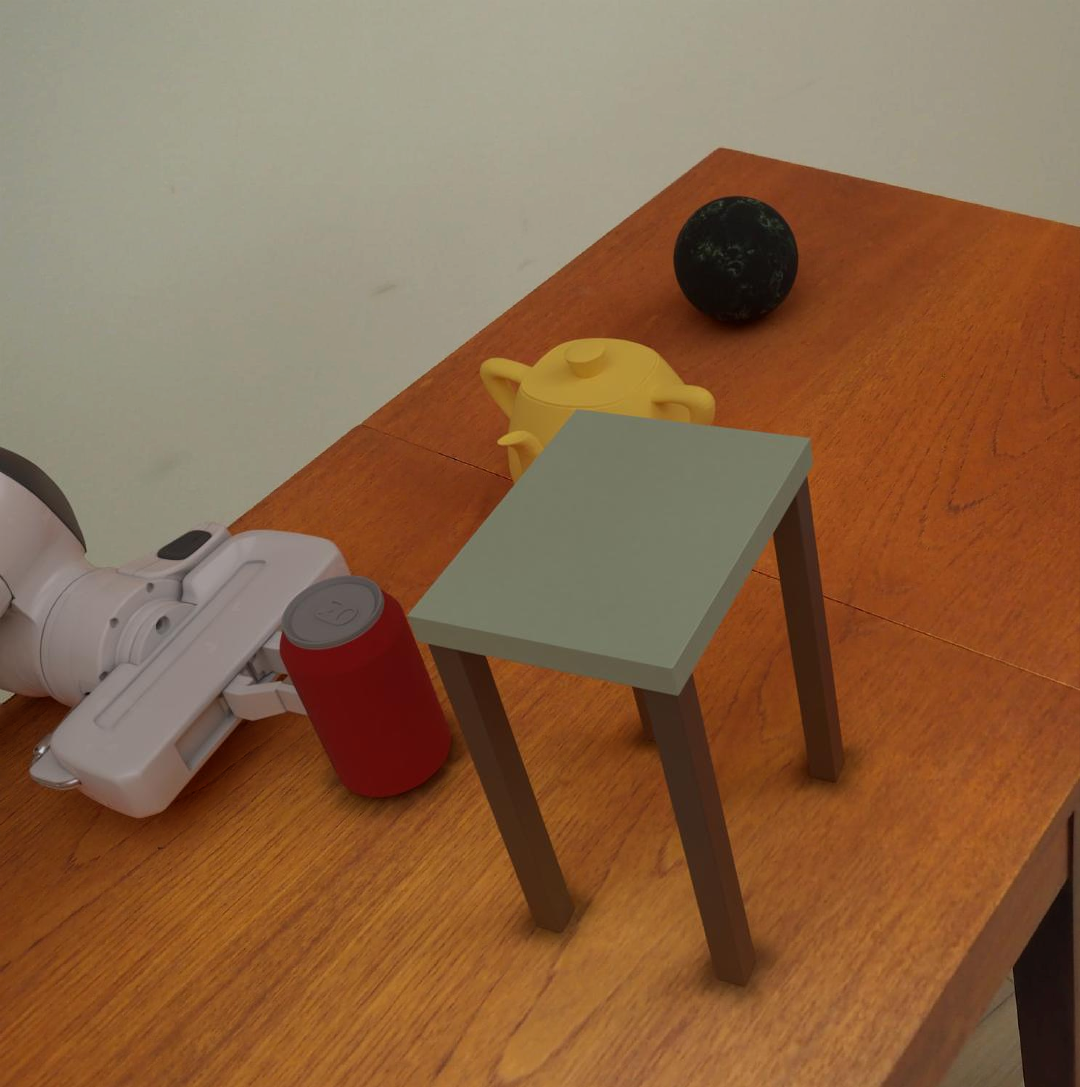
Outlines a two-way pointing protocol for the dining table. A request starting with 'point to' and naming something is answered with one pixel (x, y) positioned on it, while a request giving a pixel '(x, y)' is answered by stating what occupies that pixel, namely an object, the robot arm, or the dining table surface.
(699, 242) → the decorative stone
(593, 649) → the side table
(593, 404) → the teapot
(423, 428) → the dining table surface
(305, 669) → the beverage can
